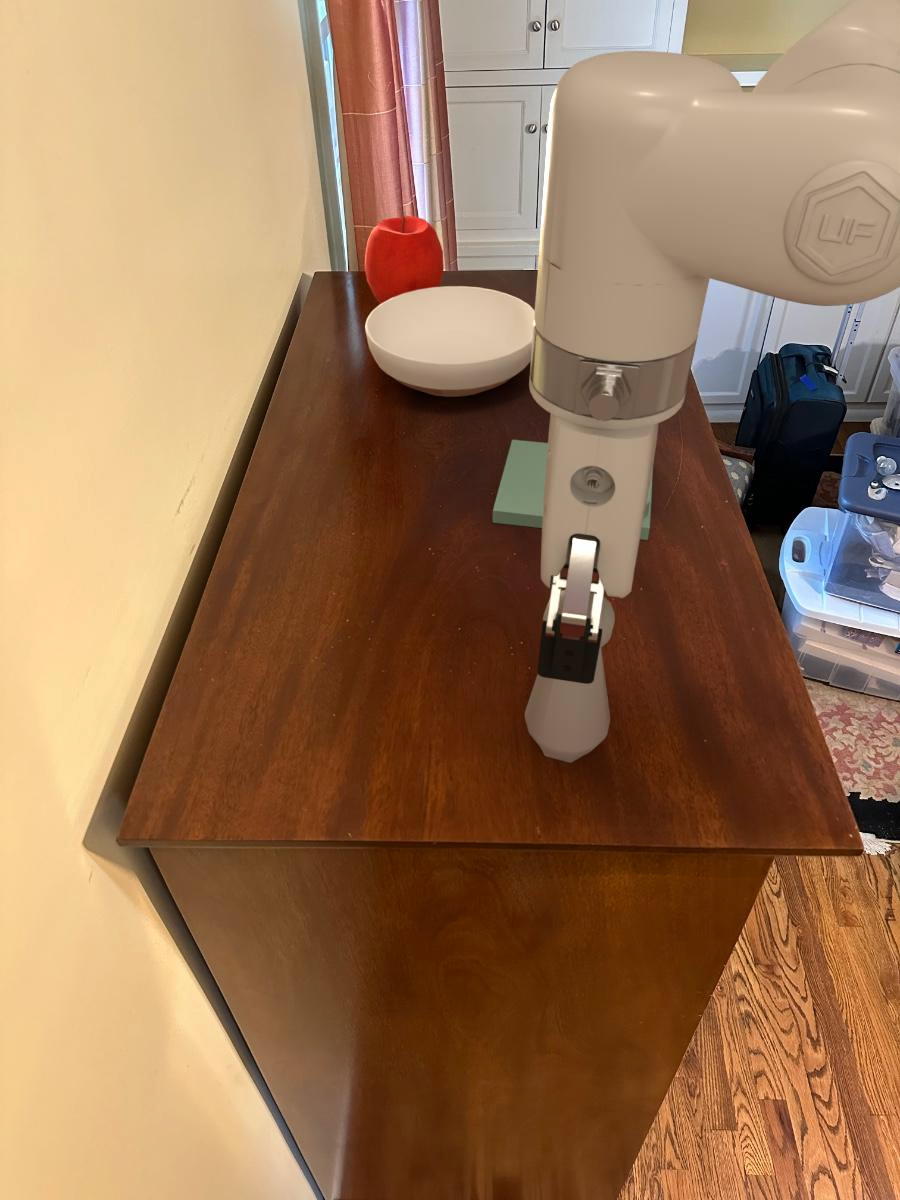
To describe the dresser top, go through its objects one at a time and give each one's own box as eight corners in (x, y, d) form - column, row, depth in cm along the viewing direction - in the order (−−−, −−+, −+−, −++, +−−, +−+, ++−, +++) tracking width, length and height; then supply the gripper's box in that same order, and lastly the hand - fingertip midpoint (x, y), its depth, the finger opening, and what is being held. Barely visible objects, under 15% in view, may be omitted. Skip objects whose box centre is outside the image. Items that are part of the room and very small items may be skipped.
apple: (409, 339, 106) (404, 238, 97) (351, 317, 110) (342, 219, 102) (460, 311, 111) (459, 213, 103) (403, 292, 116) (398, 197, 108)
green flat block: (651, 465, 85) (656, 439, 83) (647, 542, 76) (652, 515, 74) (511, 451, 87) (512, 425, 85) (492, 524, 79) (492, 497, 77)
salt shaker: (604, 710, 62) (628, 575, 54) (607, 775, 58) (633, 641, 49) (524, 704, 63) (534, 570, 54) (521, 769, 59) (531, 634, 50)
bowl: (337, 365, 101) (331, 315, 97) (468, 320, 109) (468, 272, 105) (434, 436, 90) (433, 383, 85) (573, 379, 98) (578, 328, 94)
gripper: (690, 473, 34) (628, 739, 46) (689, 293, 47) (640, 539, 58) (504, 452, 35) (489, 717, 47) (551, 281, 48) (530, 525, 59)
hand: (573, 618), depth 53 cm, fingers open, 9 cm apart
